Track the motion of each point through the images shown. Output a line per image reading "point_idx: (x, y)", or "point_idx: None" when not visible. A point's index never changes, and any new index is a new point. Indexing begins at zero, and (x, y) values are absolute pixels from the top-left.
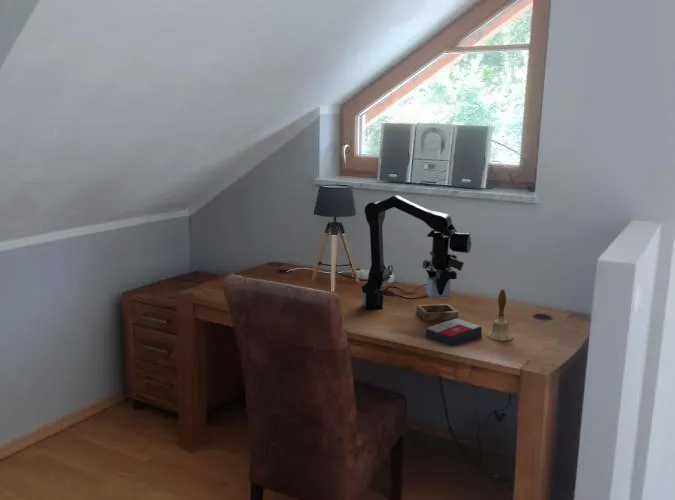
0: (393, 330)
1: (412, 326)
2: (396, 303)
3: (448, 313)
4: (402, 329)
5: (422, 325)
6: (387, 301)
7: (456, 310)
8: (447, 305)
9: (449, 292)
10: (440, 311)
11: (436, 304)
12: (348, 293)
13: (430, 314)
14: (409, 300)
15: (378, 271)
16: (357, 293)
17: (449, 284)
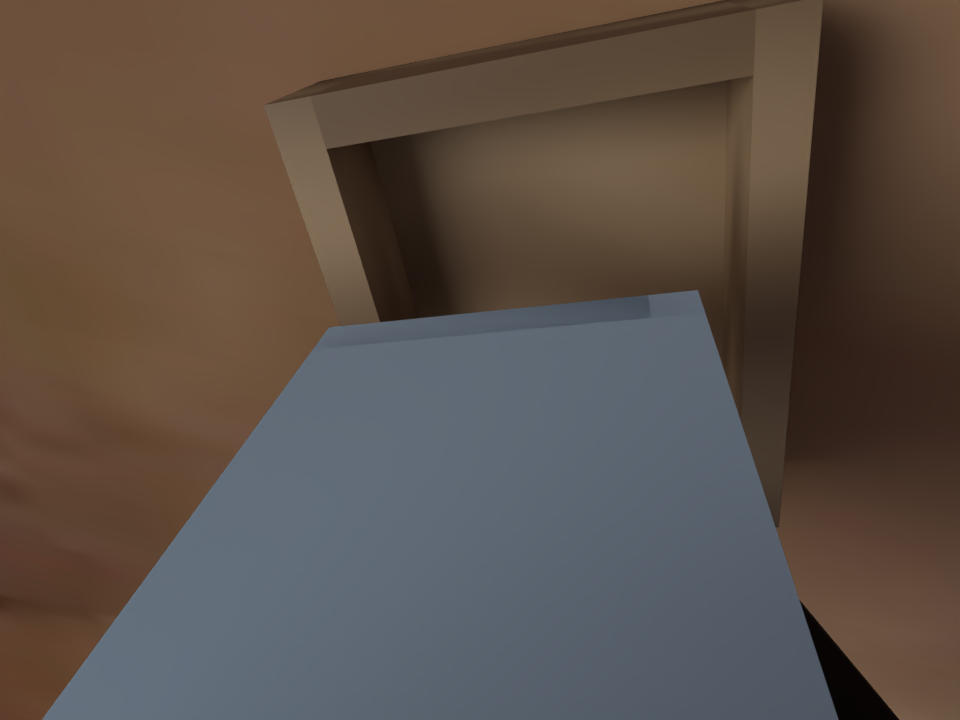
0: (941, 716)
1: (881, 586)
2: (152, 541)
3: (796, 211)
4: (942, 665)
5: (880, 506)
6: (121, 583)
7: (707, 21)
8: (366, 140)
9: (719, 378)
10: (388, 213)
11: (337, 309)
12: (37, 717)
13: (778, 467)
14: (5, 428)
15: None
16: (9, 683)
17: (806, 659)
